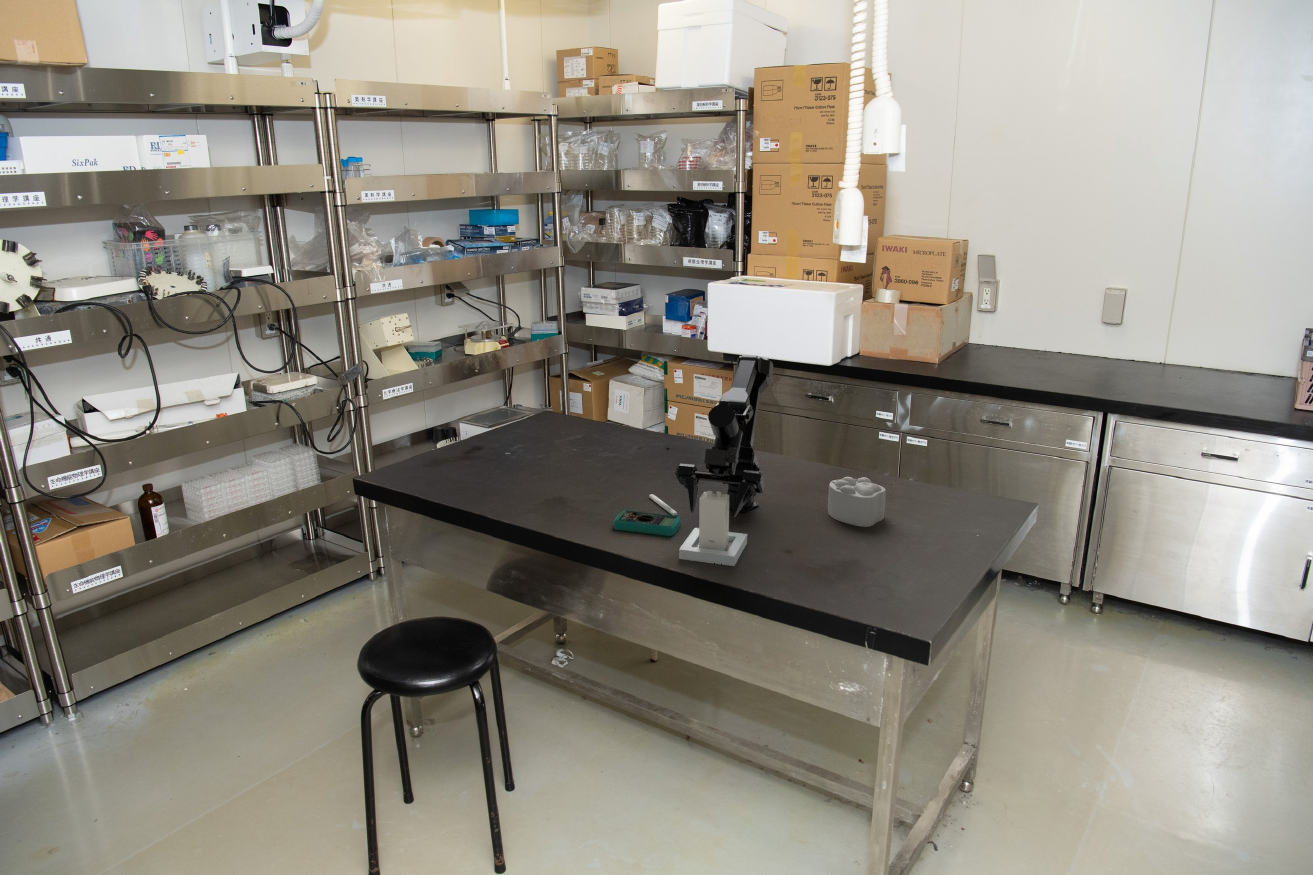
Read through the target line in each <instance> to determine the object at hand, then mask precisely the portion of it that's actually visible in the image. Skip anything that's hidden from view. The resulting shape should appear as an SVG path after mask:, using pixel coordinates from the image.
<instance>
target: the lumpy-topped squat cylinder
mask: <svg viewBox="0 0 1313 875" xmlns="http://www.w3.org/2000/svg"><path fill="white" fill-rule="evenodd" d="M886 491H887V490H886V488H885V487H884V486H882V485H879V484H877V483H873V482H872V480H870V478H868V477H866V476H865V477H864V476H863V477H859V478H854V477H851V476H845V477H843V478H841V479H839V478H837V479H835V480H833V479H832V480H831V481H830V483H829V484H828V501H827V514H828V516H830V517H831V518H833V519H834V520H835V521H836V520H837V521H839V522H842V523H843V524H848V525H852V526H857V527H861V528H863V527H864V528H868V527H871V526H874V525H875V524H876V523H878V522H880V521H883V520H884V518H885V508H886V494H887V492H886Z"/></svg>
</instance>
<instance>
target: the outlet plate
mask: <svg viewBox="0 0 1313 875" xmlns="http://www.w3.org/2000/svg"><path fill="white" fill-rule="evenodd" d="M747 544H748V533H741V532H734V531H733V532H731V531H729V540H728V546H727V547H726V549H725V551H720V550H712V549H704V548H699V527H695V528H693V529H692V531H691V532H690V534H689V535H688V536H687V538H686V539H685V541H684V542H683V544H682V545H681V546H680V548H679V549H678V551H679V552H678V554H679V555H678V558H679V560H685V561H693V562H699V563H700V562H701V563H708V564H714V563H715V565H721V564H722V565H723V566H730V567H735V566H736V565H737V563H738V560H739V558H740V557H741V555H742V553H743V551H744V549H745V548H746V547H747Z"/></svg>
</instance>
